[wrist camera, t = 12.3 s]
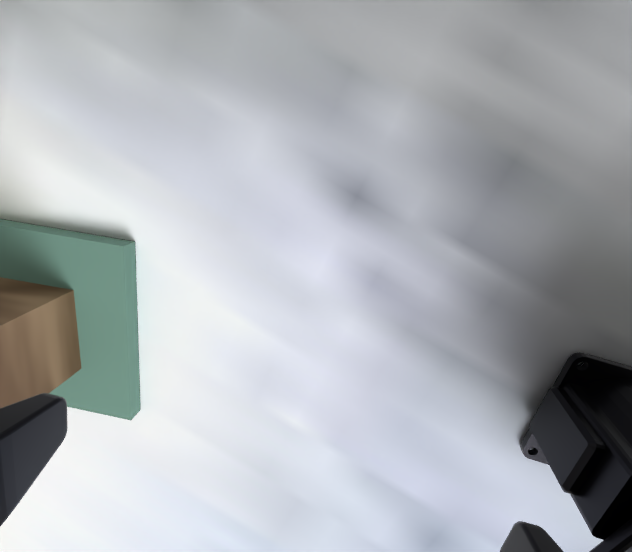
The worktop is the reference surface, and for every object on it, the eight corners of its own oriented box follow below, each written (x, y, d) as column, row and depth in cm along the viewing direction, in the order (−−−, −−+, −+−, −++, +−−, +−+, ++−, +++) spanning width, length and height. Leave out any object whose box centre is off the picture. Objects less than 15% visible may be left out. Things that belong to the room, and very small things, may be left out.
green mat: (134, 241, 21) (123, 246, 20) (140, 409, 25) (130, 420, 24) (-48, 210, 22) (-67, 213, 21) (-17, 376, 26) (-32, 385, 25)
